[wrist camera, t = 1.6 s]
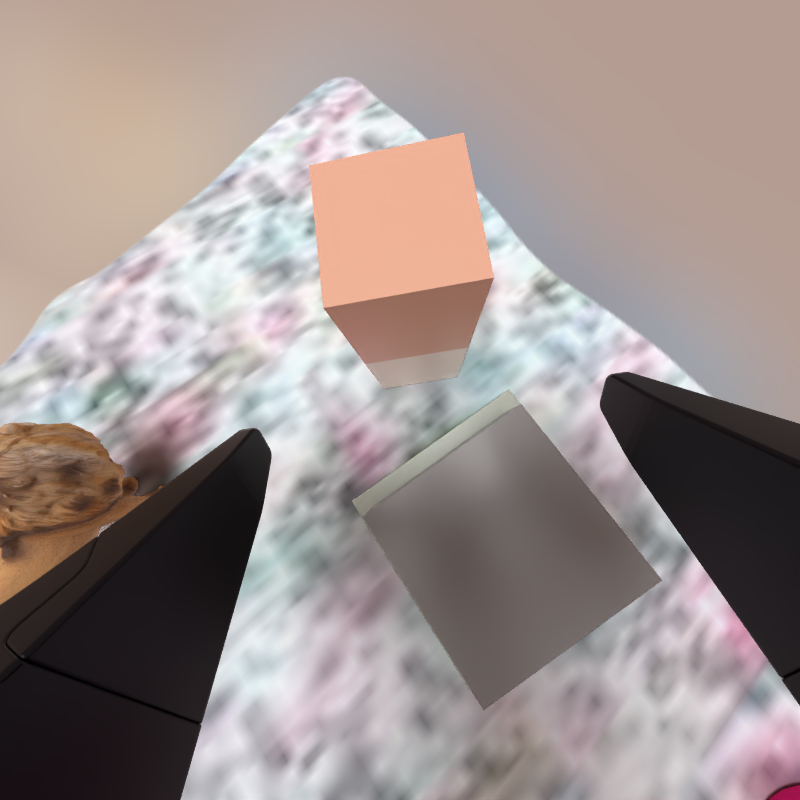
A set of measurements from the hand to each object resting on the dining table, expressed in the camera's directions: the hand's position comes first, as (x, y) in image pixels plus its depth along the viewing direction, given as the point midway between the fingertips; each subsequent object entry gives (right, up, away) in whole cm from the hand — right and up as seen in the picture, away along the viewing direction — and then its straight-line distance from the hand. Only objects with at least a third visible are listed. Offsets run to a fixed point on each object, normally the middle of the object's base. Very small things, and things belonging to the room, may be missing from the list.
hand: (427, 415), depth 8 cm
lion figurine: (-20, -8, +13) cm, 25 cm away
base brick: (+5, -7, +11) cm, 14 cm away
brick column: (0, +4, +13) cm, 14 cm away
